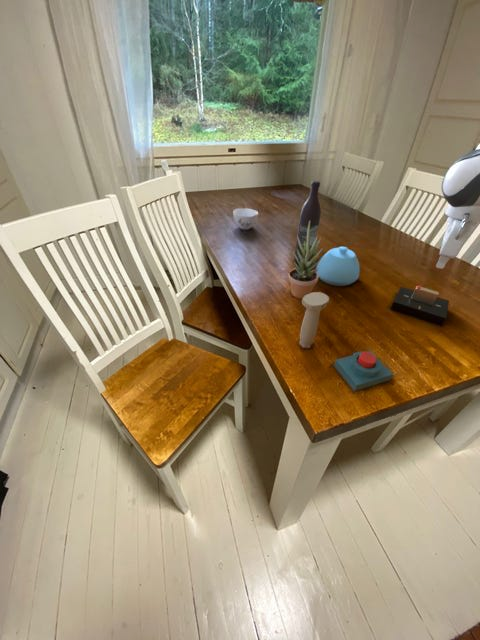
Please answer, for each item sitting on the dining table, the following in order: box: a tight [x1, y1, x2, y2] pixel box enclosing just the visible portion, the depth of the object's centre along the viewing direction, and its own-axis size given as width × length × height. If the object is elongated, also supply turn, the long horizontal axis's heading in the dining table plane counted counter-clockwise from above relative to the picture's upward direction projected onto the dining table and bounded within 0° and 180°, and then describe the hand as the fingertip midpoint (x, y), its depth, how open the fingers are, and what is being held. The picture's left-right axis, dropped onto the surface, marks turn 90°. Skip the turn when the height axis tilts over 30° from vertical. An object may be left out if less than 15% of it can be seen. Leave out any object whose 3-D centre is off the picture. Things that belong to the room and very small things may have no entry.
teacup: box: [232, 207, 259, 230], centre depth 138 cm, size 15×12×8 cm
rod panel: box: [390, 286, 450, 327], centre depth 85 cm, size 14×11×3 cm
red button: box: [358, 351, 377, 368], centre depth 63 cm, size 4×4×2 cm
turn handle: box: [411, 285, 440, 305], centre depth 83 cm, size 6×2×4 cm, turn 55°
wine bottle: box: [293, 180, 322, 267], centre depth 100 cm, size 7×7×30 cm
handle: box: [299, 291, 330, 349], centre depth 68 cm, size 5×6×15 cm
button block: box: [333, 350, 394, 392], centre depth 64 cm, size 10×8×4 cm
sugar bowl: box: [315, 246, 361, 287], centre depth 97 cm, size 15×15×12 cm
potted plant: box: [288, 221, 325, 299], centre depth 84 cm, size 10×10×25 cm
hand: (441, 260), depth 75 cm, fingers open, 8 cm apart
